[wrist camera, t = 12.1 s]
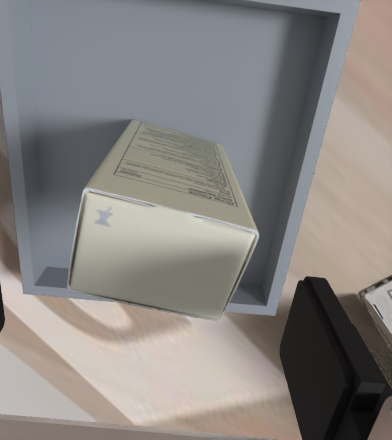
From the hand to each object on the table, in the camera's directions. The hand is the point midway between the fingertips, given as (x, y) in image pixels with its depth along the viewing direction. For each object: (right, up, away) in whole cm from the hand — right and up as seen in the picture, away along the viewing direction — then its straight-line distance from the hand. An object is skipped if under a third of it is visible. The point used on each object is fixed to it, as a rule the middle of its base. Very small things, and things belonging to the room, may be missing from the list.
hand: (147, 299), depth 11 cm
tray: (-1, +7, +13) cm, 14 cm away
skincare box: (0, +6, +13) cm, 14 cm away
